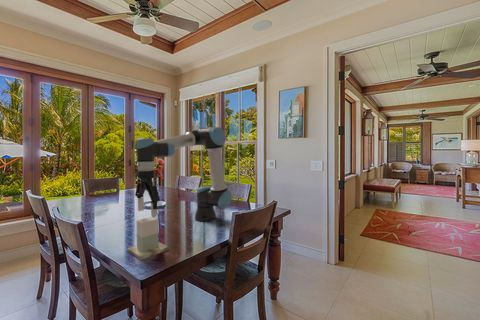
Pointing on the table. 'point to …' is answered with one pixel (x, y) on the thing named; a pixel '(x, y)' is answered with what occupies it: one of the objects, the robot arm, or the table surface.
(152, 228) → the cream brick
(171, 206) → the table surface
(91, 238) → the table surface
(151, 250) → the base plate
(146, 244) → the sage brick
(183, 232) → the table surface
